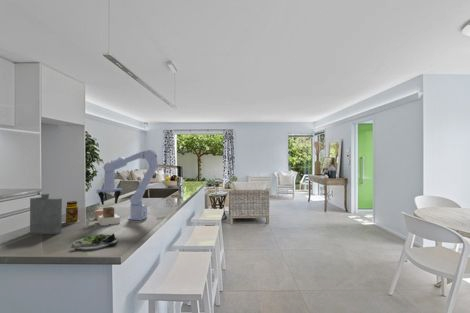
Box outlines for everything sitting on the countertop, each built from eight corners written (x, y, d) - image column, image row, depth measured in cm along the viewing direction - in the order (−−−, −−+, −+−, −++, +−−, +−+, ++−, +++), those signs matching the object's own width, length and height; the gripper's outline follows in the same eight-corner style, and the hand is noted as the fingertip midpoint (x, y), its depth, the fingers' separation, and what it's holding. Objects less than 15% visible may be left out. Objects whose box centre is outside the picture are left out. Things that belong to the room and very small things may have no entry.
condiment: (73, 223, 163) (73, 202, 163) (59, 223, 164) (59, 202, 164) (81, 220, 170) (81, 200, 170) (68, 220, 171) (68, 200, 171)
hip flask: (62, 232, 146) (63, 193, 146) (57, 234, 142) (57, 194, 142) (33, 231, 147) (33, 192, 147) (27, 233, 143) (27, 193, 143)
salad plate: (77, 256, 114) (77, 245, 114) (62, 246, 126) (62, 235, 126) (123, 245, 128) (123, 234, 128) (105, 236, 140) (105, 227, 140)
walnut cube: (112, 215, 170) (112, 206, 170) (114, 216, 166) (114, 208, 166) (103, 216, 167) (103, 207, 167) (105, 217, 163) (105, 209, 163)
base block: (115, 220, 173) (115, 214, 173) (119, 224, 165) (120, 217, 165) (97, 222, 167) (97, 216, 167) (101, 226, 159) (101, 219, 159)
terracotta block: (106, 217, 180) (106, 209, 180) (103, 219, 175) (103, 210, 175) (97, 217, 180) (97, 209, 180) (94, 219, 175) (94, 211, 175)
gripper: (119, 180, 182) (119, 201, 183) (95, 181, 173) (95, 204, 174) (123, 181, 177) (122, 203, 177) (97, 183, 168) (97, 205, 168)
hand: (109, 203), depth 175 cm, fingers open, 7 cm apart
